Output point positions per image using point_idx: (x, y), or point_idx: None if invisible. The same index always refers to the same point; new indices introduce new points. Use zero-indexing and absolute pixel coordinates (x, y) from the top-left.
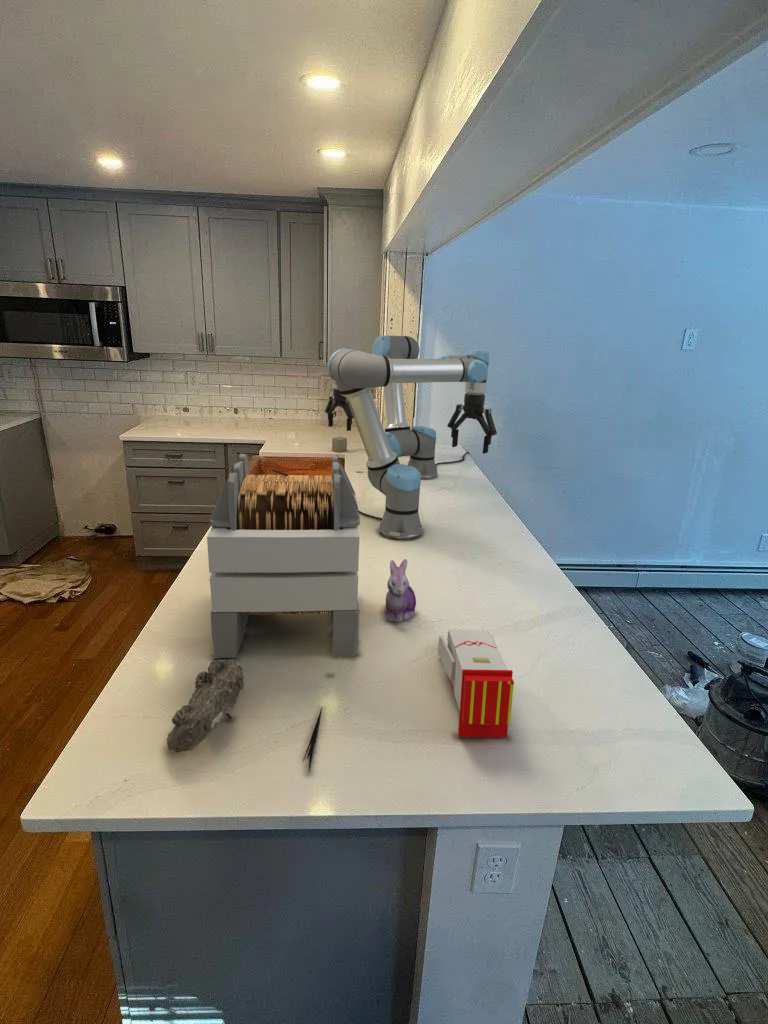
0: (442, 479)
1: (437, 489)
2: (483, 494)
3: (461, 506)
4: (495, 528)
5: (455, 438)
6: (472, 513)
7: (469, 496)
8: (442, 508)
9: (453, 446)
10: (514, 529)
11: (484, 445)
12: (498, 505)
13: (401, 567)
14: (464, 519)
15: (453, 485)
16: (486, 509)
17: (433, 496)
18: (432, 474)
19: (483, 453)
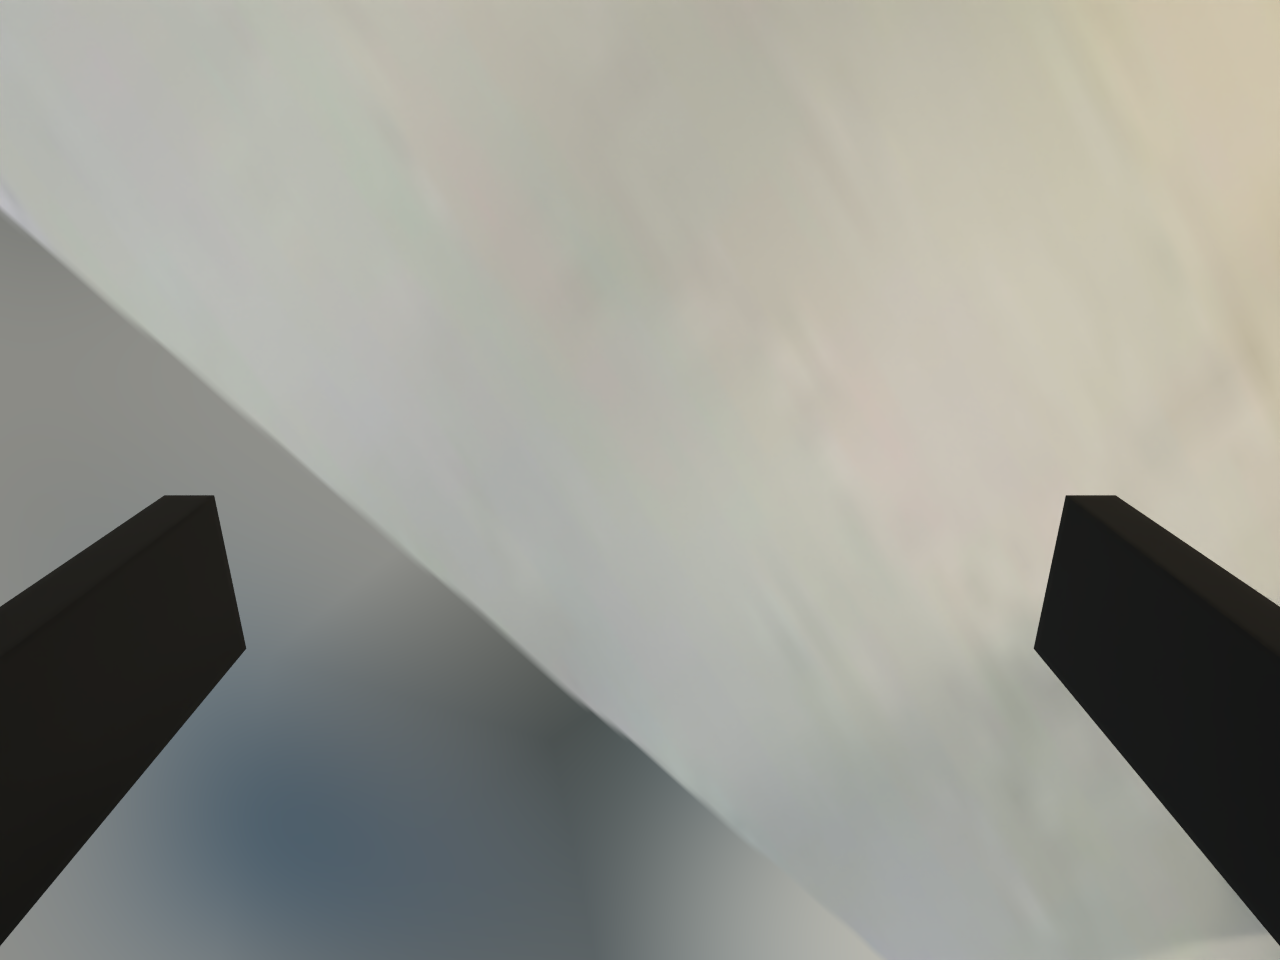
0: (1164, 845)
1: None
2: (743, 767)
3: (725, 416)
4: (209, 142)
5: (1191, 672)
6: (562, 331)
7: (802, 663)
8: (825, 246)
9: (1076, 502)
10: (102, 247)
11: (40, 598)
12: (526, 640)
13: None
14: (523, 137)
15: (1027, 788)
16: (538, 500)
17: (1041, 461)
18: None
19: (188, 497)
